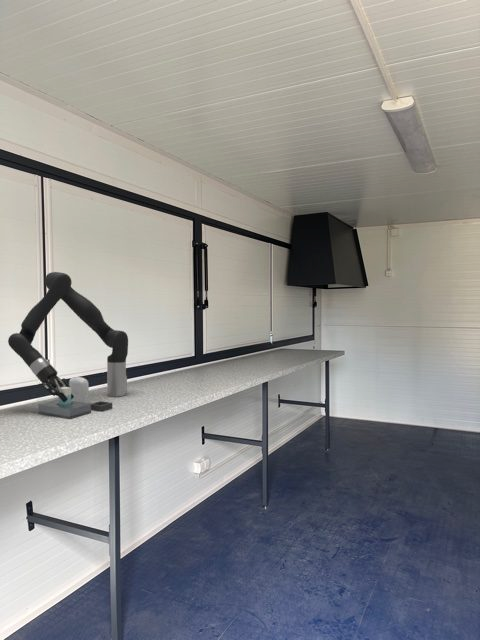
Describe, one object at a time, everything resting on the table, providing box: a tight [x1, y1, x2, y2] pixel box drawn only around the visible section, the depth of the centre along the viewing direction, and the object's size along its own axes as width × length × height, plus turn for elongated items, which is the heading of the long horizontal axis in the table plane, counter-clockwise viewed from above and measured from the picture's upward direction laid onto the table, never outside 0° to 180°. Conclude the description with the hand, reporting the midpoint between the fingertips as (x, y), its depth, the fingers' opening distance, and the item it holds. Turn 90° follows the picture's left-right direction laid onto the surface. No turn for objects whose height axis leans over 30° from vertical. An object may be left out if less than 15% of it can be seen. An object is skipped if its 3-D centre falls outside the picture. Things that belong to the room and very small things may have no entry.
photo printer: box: [68, 376, 90, 403], centre depth 214 cm, size 10×4×12 cm, turn 60°
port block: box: [37, 399, 92, 420], centre depth 195 cm, size 12×18×4 cm, turn 65°
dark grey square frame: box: [91, 400, 113, 412], centre depth 204 cm, size 7×7×2 cm
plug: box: [58, 386, 71, 406], centre depth 195 cm, size 4×4×9 cm
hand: (69, 399), depth 195 cm, fingers closed on plug, 4 cm apart
